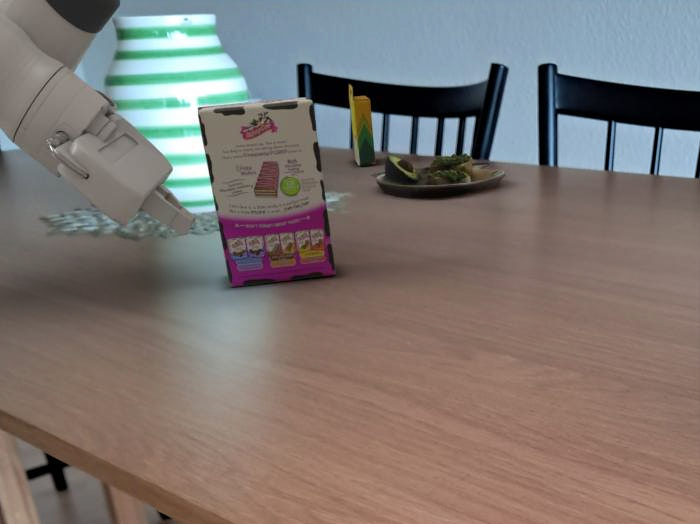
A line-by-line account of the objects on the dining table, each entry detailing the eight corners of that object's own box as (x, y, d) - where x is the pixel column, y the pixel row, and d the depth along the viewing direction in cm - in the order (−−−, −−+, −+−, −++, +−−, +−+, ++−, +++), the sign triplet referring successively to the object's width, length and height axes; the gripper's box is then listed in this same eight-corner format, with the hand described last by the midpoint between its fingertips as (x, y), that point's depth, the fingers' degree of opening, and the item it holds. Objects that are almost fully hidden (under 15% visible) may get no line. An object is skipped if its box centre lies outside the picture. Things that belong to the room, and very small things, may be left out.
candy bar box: (330, 265, 110) (309, 95, 101) (336, 276, 106) (315, 100, 97) (226, 276, 108) (195, 104, 99) (228, 288, 104) (196, 109, 95)
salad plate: (453, 171, 159) (451, 138, 157) (535, 180, 148) (534, 146, 146) (356, 190, 148) (352, 156, 146) (437, 202, 137) (434, 165, 135)
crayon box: (376, 165, 168) (369, 85, 161) (358, 166, 167) (350, 87, 161) (372, 159, 174) (364, 82, 167) (354, 160, 173) (347, 83, 167)
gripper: (59, 112, 88) (195, 223, 94) (107, 91, 105) (219, 186, 111) (22, 171, 90) (157, 276, 96) (75, 141, 107) (186, 232, 113)
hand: (190, 228), depth 104 cm, fingers closed
